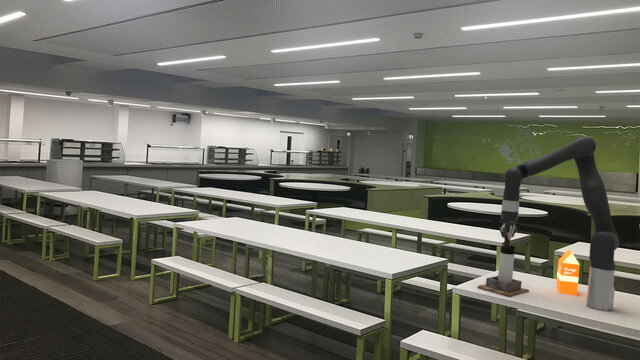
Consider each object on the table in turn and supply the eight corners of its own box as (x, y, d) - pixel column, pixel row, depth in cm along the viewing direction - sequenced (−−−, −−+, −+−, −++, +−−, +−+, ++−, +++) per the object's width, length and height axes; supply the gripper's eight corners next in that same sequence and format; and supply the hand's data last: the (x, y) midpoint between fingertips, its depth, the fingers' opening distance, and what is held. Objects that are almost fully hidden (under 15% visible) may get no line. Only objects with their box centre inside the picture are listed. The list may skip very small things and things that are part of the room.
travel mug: (514, 289, 220) (518, 247, 219) (503, 290, 218) (507, 247, 217) (505, 285, 226) (508, 244, 225) (494, 286, 223) (497, 244, 222)
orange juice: (559, 292, 223) (562, 251, 222) (555, 288, 232) (559, 248, 231) (577, 295, 221) (581, 253, 220) (573, 290, 229) (577, 250, 228)
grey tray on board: (528, 291, 221) (529, 281, 221) (509, 297, 210) (510, 286, 209) (497, 283, 233) (498, 273, 233) (477, 288, 222) (478, 277, 222)
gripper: (510, 211, 212) (507, 249, 213) (524, 210, 221) (521, 247, 222) (495, 209, 218) (492, 246, 219) (509, 208, 227) (506, 244, 228)
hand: (506, 246), depth 221 cm, fingers closed
